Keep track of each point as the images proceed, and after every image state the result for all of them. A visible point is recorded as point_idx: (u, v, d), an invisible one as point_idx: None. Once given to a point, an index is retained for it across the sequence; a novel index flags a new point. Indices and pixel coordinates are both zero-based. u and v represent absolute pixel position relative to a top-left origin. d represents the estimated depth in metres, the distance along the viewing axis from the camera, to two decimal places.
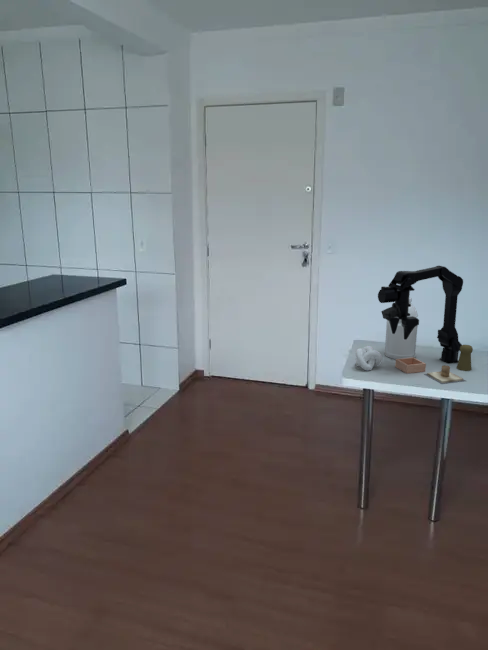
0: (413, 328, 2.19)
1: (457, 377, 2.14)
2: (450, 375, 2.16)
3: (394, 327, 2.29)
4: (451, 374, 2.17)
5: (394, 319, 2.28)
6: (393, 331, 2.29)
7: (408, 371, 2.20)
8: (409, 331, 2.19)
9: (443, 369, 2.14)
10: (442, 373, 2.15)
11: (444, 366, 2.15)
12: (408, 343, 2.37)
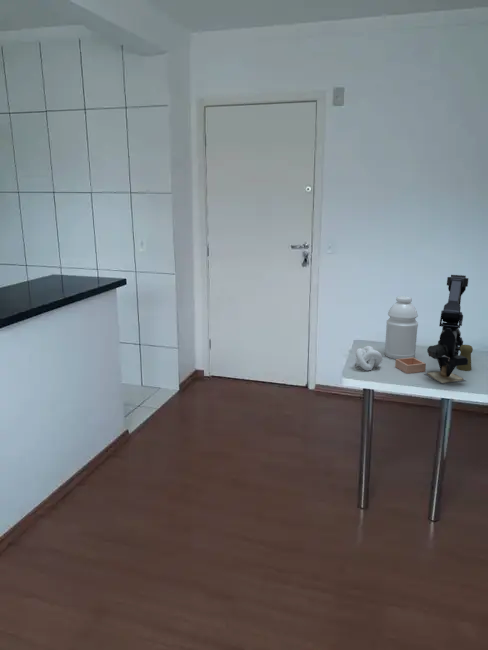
0: None
1: (457, 377, 2.14)
2: (450, 375, 2.16)
3: None
4: (451, 374, 2.17)
5: (443, 358, 2.16)
6: None
7: (408, 371, 2.20)
8: (452, 368, 2.12)
9: (443, 369, 2.14)
10: (442, 373, 2.15)
11: (444, 366, 2.15)
12: (408, 343, 2.37)
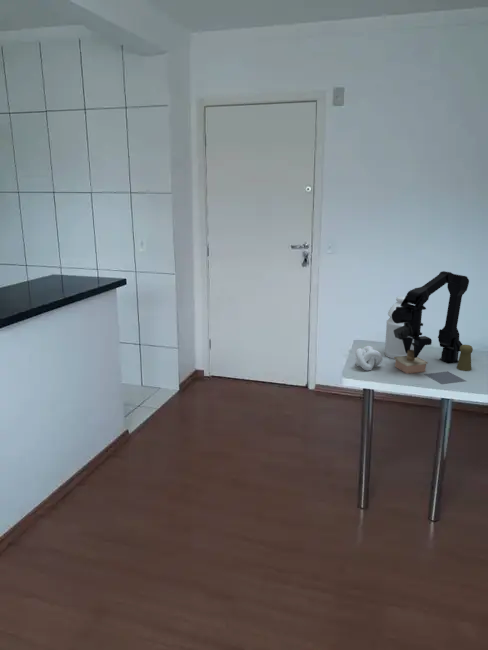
0: None
1: (422, 361, 2.23)
2: (415, 359, 2.25)
3: (408, 347, 2.26)
4: (417, 358, 2.26)
5: (407, 339, 2.26)
6: (406, 351, 2.27)
7: (408, 371, 2.20)
8: (419, 349, 2.19)
9: (408, 353, 2.23)
10: (408, 357, 2.24)
11: (410, 350, 2.24)
12: None
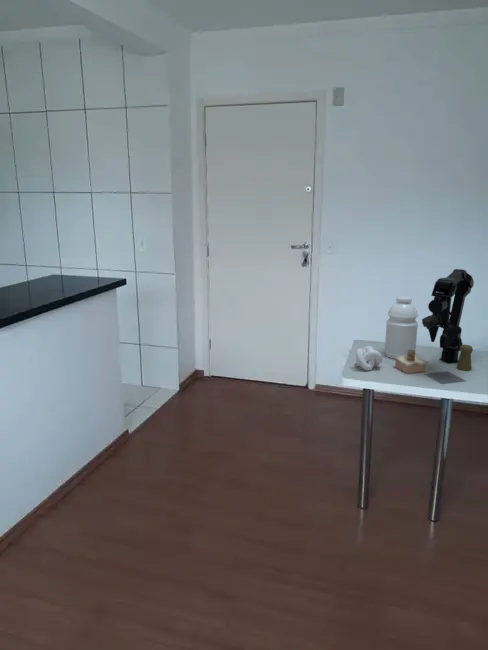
0: (455, 337, 2.14)
1: (422, 361, 2.23)
2: (415, 359, 2.25)
3: (433, 335, 2.25)
4: (417, 358, 2.26)
5: (433, 327, 2.24)
6: (432, 339, 2.25)
7: (408, 371, 2.20)
8: (451, 340, 2.15)
9: (408, 353, 2.23)
10: (408, 357, 2.24)
11: (410, 350, 2.24)
12: (408, 343, 2.37)
